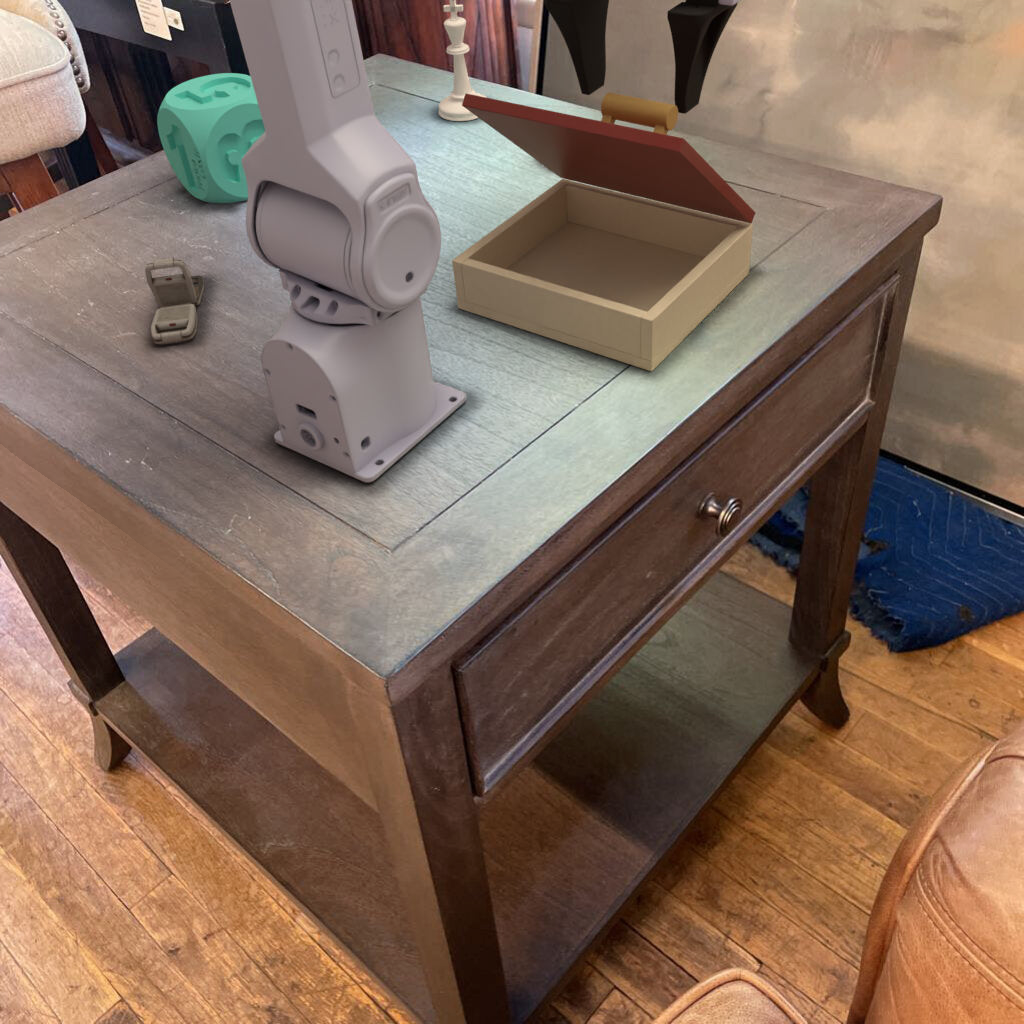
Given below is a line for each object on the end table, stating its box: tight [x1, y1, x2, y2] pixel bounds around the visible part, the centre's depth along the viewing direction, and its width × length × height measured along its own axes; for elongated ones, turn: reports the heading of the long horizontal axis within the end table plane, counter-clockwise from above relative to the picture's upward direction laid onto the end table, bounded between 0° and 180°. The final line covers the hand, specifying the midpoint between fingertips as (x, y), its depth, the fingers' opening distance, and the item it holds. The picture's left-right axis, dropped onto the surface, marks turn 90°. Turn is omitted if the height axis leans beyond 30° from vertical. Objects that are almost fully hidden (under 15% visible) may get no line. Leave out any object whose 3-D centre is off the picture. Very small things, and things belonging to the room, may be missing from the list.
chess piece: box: [438, 0, 488, 122], centre depth 97 cm, size 5×5×10 cm
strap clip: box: [144, 257, 205, 345], centre depth 76 cm, size 8×3×4 cm, turn 7°
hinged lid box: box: [451, 178, 754, 372], centre depth 74 cm, size 14×16×4 cm
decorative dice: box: [156, 72, 265, 204], centre depth 90 cm, size 8×8×8 cm
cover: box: [462, 92, 756, 224], centre depth 70 cm, size 14×16×5 cm
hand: (639, 98), depth 75 cm, fingers open, 7 cm apart
